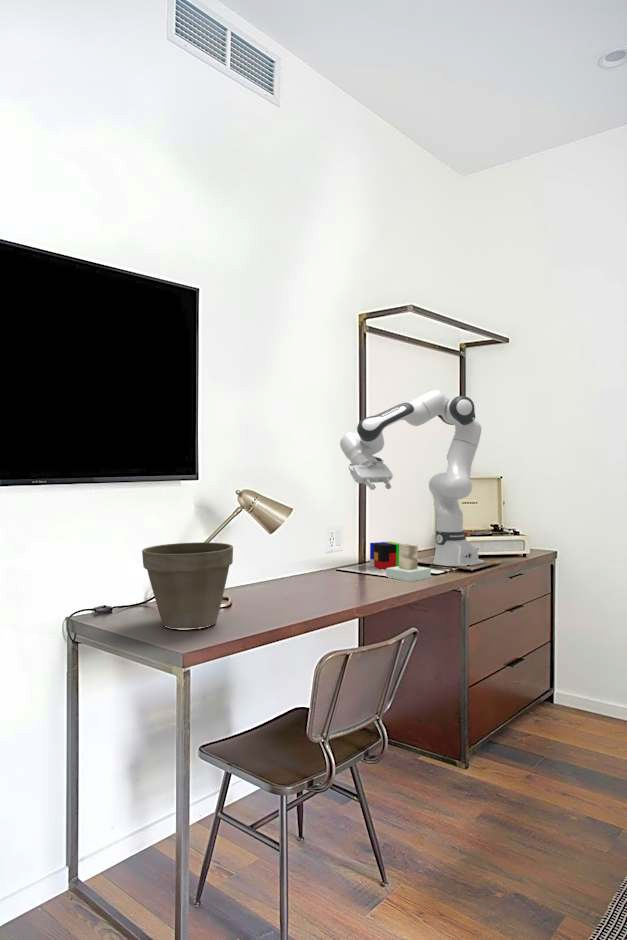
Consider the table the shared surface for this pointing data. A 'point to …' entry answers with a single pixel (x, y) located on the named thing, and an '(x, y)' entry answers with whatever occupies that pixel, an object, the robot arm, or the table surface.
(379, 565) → the puzzle toy
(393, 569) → the sage base block
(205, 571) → the plant pot
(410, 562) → the maple block
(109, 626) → the table surface
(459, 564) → the robot arm
